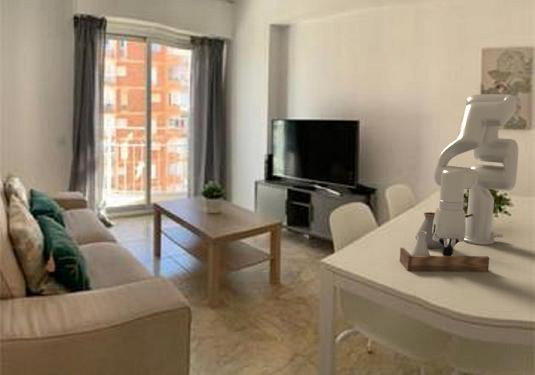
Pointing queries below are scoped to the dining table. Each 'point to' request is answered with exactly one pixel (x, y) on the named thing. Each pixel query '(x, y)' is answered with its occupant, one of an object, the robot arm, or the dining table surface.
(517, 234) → the dining table surface
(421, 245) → the flask
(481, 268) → the wooden block
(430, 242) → the coffee pot
